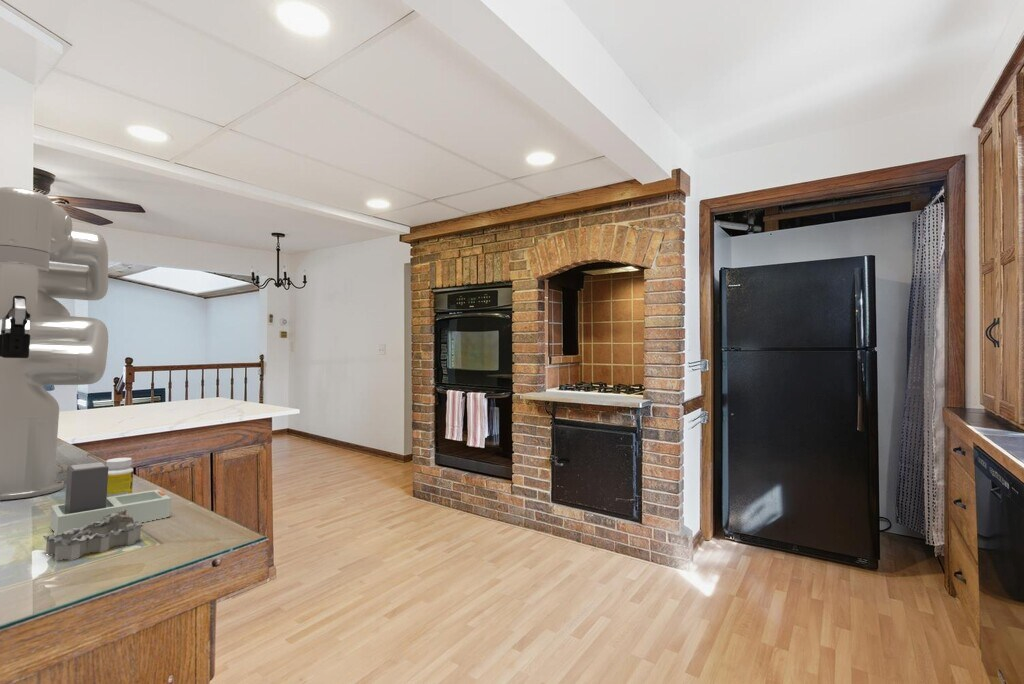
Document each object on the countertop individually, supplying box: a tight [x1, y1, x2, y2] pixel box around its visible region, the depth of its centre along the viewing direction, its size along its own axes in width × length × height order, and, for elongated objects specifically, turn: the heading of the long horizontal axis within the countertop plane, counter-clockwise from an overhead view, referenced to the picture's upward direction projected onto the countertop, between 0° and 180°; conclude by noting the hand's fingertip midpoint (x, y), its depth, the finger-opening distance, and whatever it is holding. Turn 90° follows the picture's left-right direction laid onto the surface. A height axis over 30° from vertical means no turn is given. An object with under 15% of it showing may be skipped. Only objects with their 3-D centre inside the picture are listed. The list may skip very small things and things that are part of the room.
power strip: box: [49, 489, 172, 536], centre depth 84 cm, size 15×8×4 cm, turn 140°
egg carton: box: [43, 510, 144, 562], centre depth 73 cm, size 11×8×4 cm
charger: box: [64, 461, 108, 515], centre depth 81 cm, size 5×5×8 cm
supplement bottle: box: [105, 457, 134, 497], centre depth 94 cm, size 5×5×8 cm
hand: (12, 357), depth 84 cm, fingers open, 9 cm apart
